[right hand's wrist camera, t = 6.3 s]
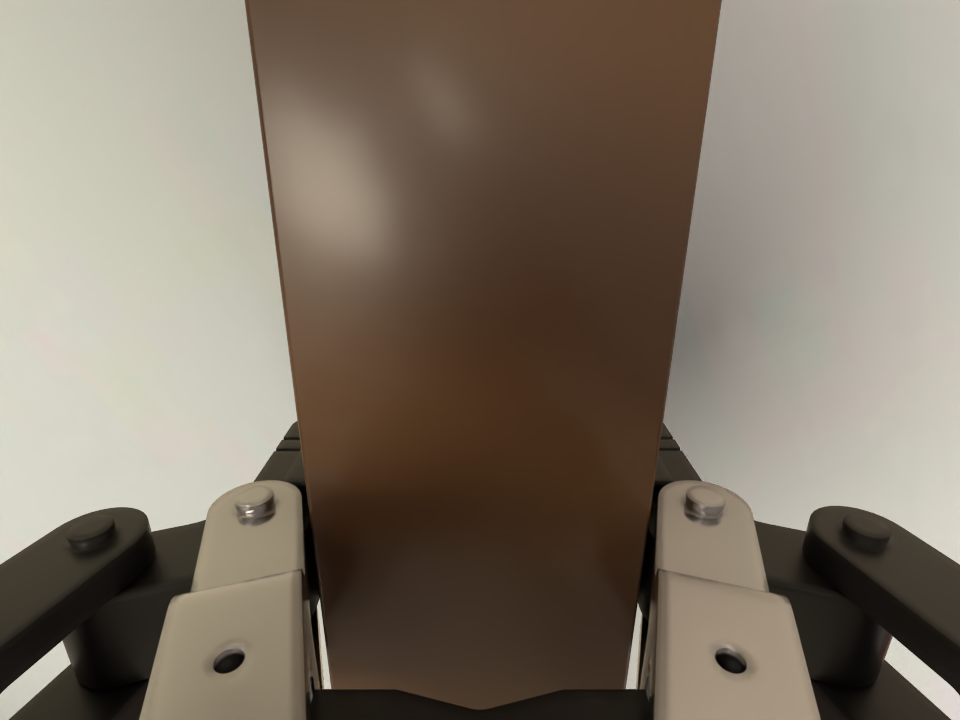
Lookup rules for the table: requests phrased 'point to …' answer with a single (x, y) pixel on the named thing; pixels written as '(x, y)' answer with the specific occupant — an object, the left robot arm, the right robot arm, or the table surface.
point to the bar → (481, 319)
